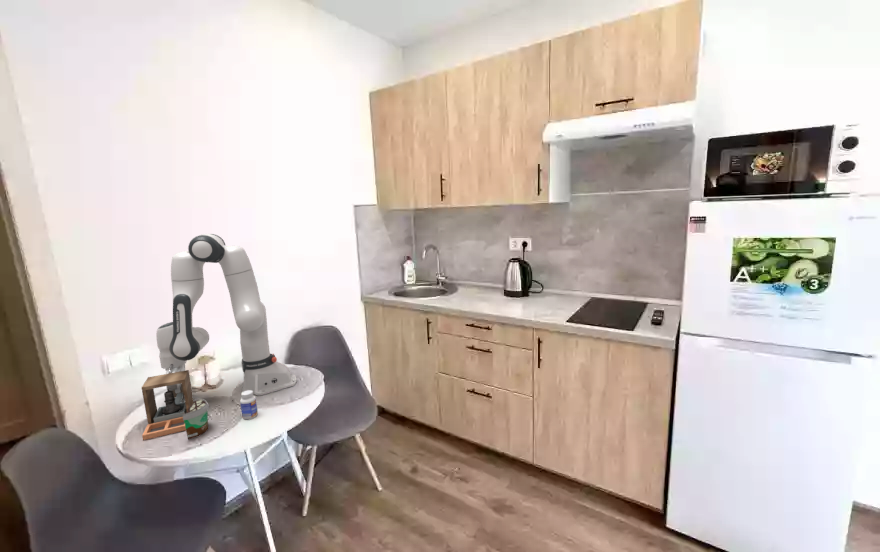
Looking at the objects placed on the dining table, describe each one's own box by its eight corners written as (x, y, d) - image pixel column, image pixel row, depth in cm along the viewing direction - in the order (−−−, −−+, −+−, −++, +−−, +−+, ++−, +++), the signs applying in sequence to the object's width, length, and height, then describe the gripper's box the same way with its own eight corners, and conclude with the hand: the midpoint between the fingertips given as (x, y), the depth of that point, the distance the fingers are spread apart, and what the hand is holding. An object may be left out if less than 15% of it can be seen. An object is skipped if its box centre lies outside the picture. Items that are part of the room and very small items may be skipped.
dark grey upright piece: (172, 422, 145) (167, 392, 143) (159, 421, 146) (154, 391, 144) (185, 414, 150) (181, 385, 148) (173, 413, 152) (168, 384, 150)
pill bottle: (255, 418, 145) (252, 395, 143) (240, 420, 144) (236, 396, 143) (259, 411, 150) (256, 388, 149) (245, 413, 149) (241, 390, 148)
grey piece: (194, 391, 169) (192, 381, 168) (185, 419, 146) (183, 407, 145) (168, 397, 165) (166, 386, 164) (154, 426, 142) (152, 413, 141)
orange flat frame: (190, 419, 146) (190, 414, 146) (187, 430, 139) (186, 425, 139) (148, 429, 140) (147, 424, 140) (143, 440, 133) (142, 435, 133)
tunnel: (194, 407, 155) (188, 369, 153) (191, 419, 147) (184, 379, 144) (155, 416, 150) (148, 377, 147) (148, 428, 141) (141, 387, 138)
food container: (206, 438, 133) (202, 411, 132) (186, 441, 132) (182, 414, 130) (216, 420, 145) (212, 395, 143) (197, 423, 143) (193, 398, 142)
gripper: (178, 367, 152) (183, 400, 154) (186, 351, 170) (190, 381, 172) (159, 371, 149) (164, 404, 152) (168, 354, 167) (173, 384, 170)
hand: (178, 391), depth 162 cm, fingers closed
